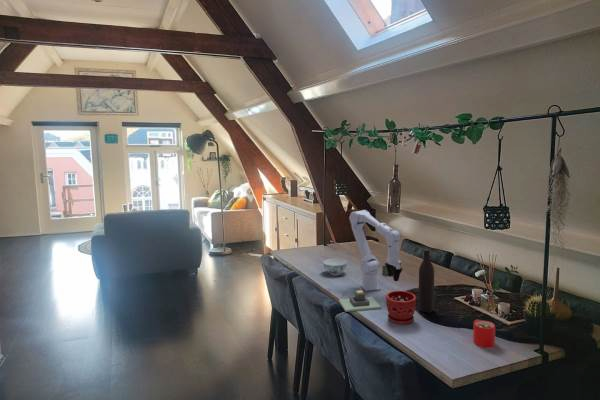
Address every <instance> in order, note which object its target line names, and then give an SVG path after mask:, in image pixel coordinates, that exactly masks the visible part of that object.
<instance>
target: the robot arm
mask: <svg viewBox="0 0 600 400" xmlns="http://www.w3.org/2000/svg"><path fill="white" fill-rule="evenodd" d="M348 219H349V221H350V225H351V230H352V232H353V236H354V238H355V241H356V244H357V247H358V249H359V252H360V256H361V259H360V261H359V264H360V270H361V272H362V277H361V278H362V284H360V286H361V287H362V288H363V290H365V292H367V291H378V290H380V288H379V287H378V272H379V270H380V267H381V265H380V262H379V260H378V259H377V257H376V256H375V255H374V254H372V251H371V250H370V246H369V244H368V241H367V239H366V235H365V232H364V230H363V226H364V225H365V224H366V223H368V225H370V226H372V227H374V228H375V229H376V232H377V233H379V234H380V235H381V236H383V237H384V239H385V241H386V244H387V257H386V262H385V263H384V264H385V266H386V268H387V271H388V277H390V278H391V277H393V278H392V279H393V281H394V282H399V280H400V275H401V273H402V271H403V268H402V267H401V265H400V263H401V264H402V261H401V260H400V240H401V239H402V234H401V231H400V230H398V229H393V228H392V227H390V226H389V225H387V222H380V221H379V220H377V219H376V218H375V217H374V216H373V215H371V213H370V212H369V211H368V210H366V209H362V210H358V211H357V210H355V211H351V213H350V214H349V217H348ZM394 267H395V268H394Z"/></svg>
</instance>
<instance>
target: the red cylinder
mask: <svg viewBox="0 0 600 400" xmlns="http://www.w3.org/2000/svg"><path fill="white" fill-rule="evenodd" d="M472 327H473V337H472V338H473V341H472V342H473V344H475V345H476V346H477V347H480V348H487V349H489V348H493V347H495V343H496V324H495V323H494V322H491V321H488V320H482V319H475V320H474V321H473V326H472Z"/></svg>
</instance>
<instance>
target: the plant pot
mask: <svg viewBox="0 0 600 400" xmlns="http://www.w3.org/2000/svg"><path fill="white" fill-rule="evenodd" d="M385 300H386V309H387V312H388V314H387V318H388V320H389V321H390V322H392V323H395V324H397V325H407V324H411V323H412V322H413V321H414V318H415V317H414V314H415V311H416V305H417V304H416V303H417V297H416V295H415V294H414V293H412V292H409V291H405V290H393V291H392V290H391V291H390V292H387V293H386V296H385ZM400 300H402V301H400Z"/></svg>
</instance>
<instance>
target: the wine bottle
mask: <svg viewBox="0 0 600 400" xmlns="http://www.w3.org/2000/svg"><path fill="white" fill-rule="evenodd" d="M430 254H431V249H430V248H429V249H428V248H425V249H424V250H423V260H422V261H421V264H420V265H419V268H418V311H419V312H420V311H422V312H421V313H423V312H432V311H433V312H434V309H435V268H434V265H433V263H432V261H431V257H430ZM433 312H432V313H433Z"/></svg>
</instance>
